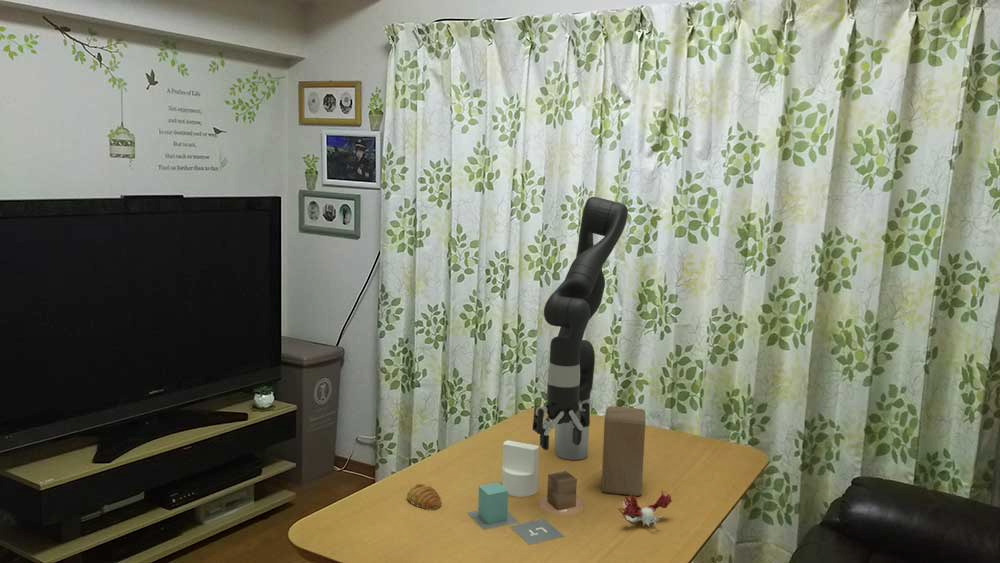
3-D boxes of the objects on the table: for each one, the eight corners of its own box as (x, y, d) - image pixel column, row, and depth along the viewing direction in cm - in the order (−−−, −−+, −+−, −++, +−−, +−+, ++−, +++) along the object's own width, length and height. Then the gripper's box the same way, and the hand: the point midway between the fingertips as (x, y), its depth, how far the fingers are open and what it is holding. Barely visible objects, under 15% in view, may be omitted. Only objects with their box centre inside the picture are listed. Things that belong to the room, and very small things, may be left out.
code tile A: (509, 528, 161) (509, 526, 161) (544, 520, 165) (544, 518, 165) (528, 546, 153) (528, 544, 153) (564, 538, 157) (564, 536, 157)
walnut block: (547, 501, 174) (548, 474, 173) (564, 498, 176) (565, 471, 175) (557, 510, 169) (558, 482, 168) (575, 506, 171) (576, 478, 170)
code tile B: (466, 514, 167) (466, 512, 167) (501, 507, 172) (501, 505, 171) (483, 531, 160) (483, 529, 159) (519, 523, 164) (519, 521, 164)
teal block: (478, 514, 167) (478, 486, 166) (497, 510, 169) (498, 482, 168) (487, 524, 162) (488, 494, 161) (507, 519, 164) (508, 490, 163)
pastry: (449, 508, 171) (449, 493, 170) (425, 516, 167) (425, 500, 166) (427, 494, 178) (427, 479, 178) (403, 501, 174) (403, 486, 173)
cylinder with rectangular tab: (542, 487, 183) (544, 442, 182) (529, 501, 175) (530, 454, 173) (510, 480, 187) (511, 436, 185) (495, 493, 179) (497, 447, 177)
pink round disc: (530, 501, 175) (530, 498, 175) (568, 493, 180) (568, 491, 180) (553, 520, 165) (553, 518, 165) (593, 511, 170) (593, 509, 170)
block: (641, 497, 179) (645, 420, 176) (601, 493, 180) (604, 416, 178) (641, 481, 188) (645, 408, 185) (603, 477, 190) (606, 404, 187)
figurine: (649, 504, 175) (650, 478, 174) (683, 525, 165) (684, 497, 164) (599, 517, 168) (601, 490, 167) (632, 539, 158) (633, 511, 157)
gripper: (581, 373, 175) (577, 437, 177) (529, 379, 168) (526, 445, 171) (598, 382, 168) (594, 448, 171) (544, 388, 162) (541, 456, 164)
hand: (560, 446), depth 171 cm, fingers open, 8 cm apart
